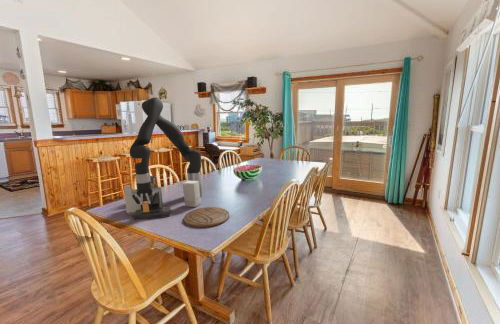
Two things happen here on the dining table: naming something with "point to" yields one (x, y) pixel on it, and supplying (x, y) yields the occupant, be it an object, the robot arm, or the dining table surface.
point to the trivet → (206, 217)
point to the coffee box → (153, 181)
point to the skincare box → (191, 193)
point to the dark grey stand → (158, 199)
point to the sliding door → (130, 200)
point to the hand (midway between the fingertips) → (146, 209)
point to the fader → (145, 206)
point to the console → (152, 213)
